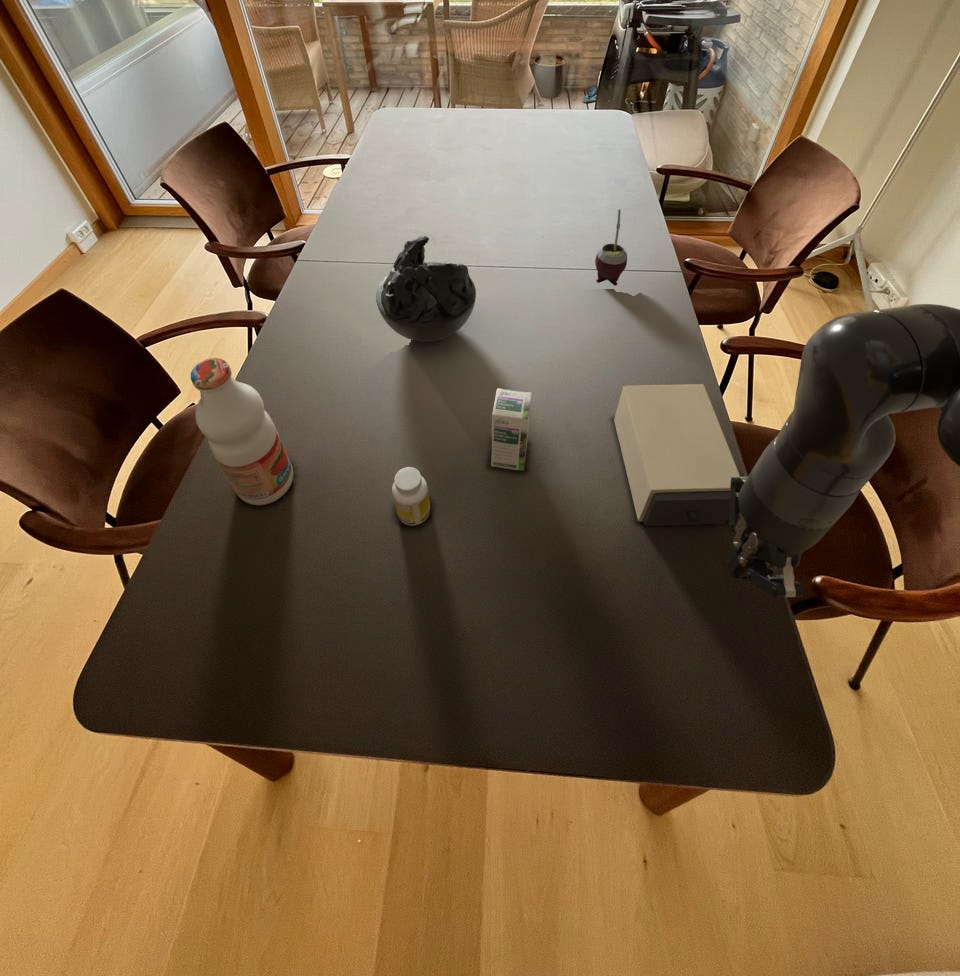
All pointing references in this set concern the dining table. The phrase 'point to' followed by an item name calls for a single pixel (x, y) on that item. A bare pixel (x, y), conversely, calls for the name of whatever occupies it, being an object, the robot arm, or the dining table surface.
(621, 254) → the mate gourd
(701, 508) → the two-tone hollow box
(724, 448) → the cream drawer box
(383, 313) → the coal bowl
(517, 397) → the syrup box
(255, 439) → the fruit juice
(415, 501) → the supplement bottle
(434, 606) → the dining table surface
